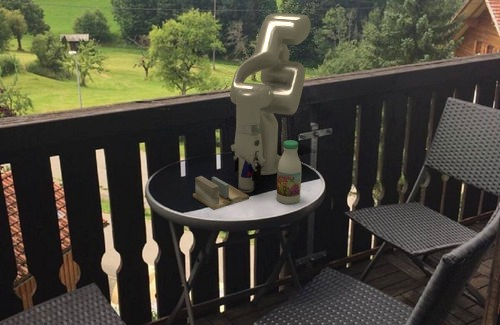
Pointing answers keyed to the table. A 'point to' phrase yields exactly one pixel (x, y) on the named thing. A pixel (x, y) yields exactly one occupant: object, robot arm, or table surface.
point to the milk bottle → (289, 174)
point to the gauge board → (231, 195)
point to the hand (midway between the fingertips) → (247, 175)
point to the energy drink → (245, 176)
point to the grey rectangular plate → (222, 187)
